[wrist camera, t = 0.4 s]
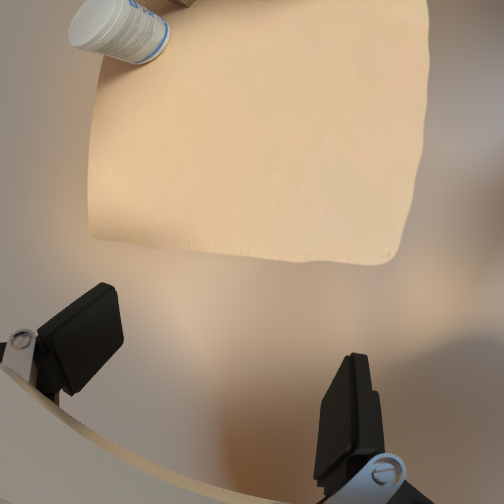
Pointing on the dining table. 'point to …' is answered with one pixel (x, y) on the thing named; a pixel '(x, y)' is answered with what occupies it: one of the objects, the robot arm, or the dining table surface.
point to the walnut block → (183, 2)
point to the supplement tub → (119, 30)
